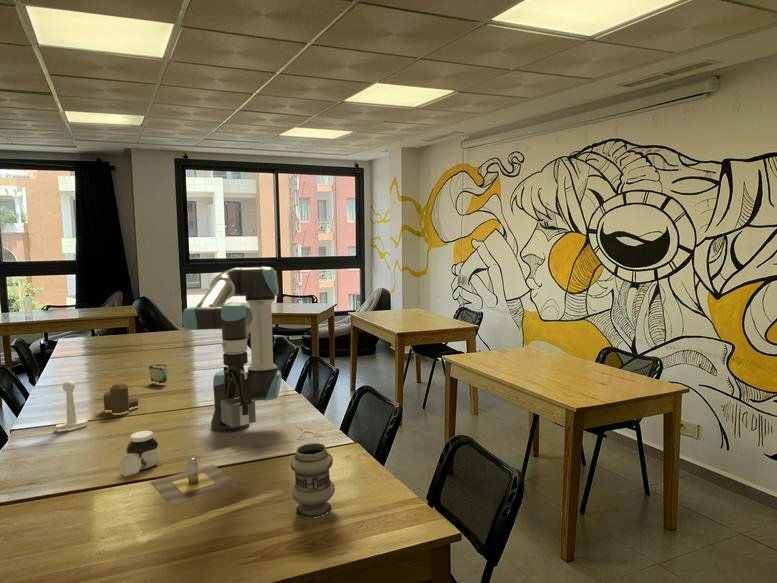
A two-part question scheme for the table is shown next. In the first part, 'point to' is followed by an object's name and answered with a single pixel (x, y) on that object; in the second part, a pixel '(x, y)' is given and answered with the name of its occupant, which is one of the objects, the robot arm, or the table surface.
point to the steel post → (192, 471)
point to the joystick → (70, 408)
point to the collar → (235, 412)
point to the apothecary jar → (312, 480)
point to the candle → (118, 399)
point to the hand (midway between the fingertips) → (238, 420)
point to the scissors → (308, 431)
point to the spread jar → (140, 454)
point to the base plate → (180, 491)
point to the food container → (158, 372)
